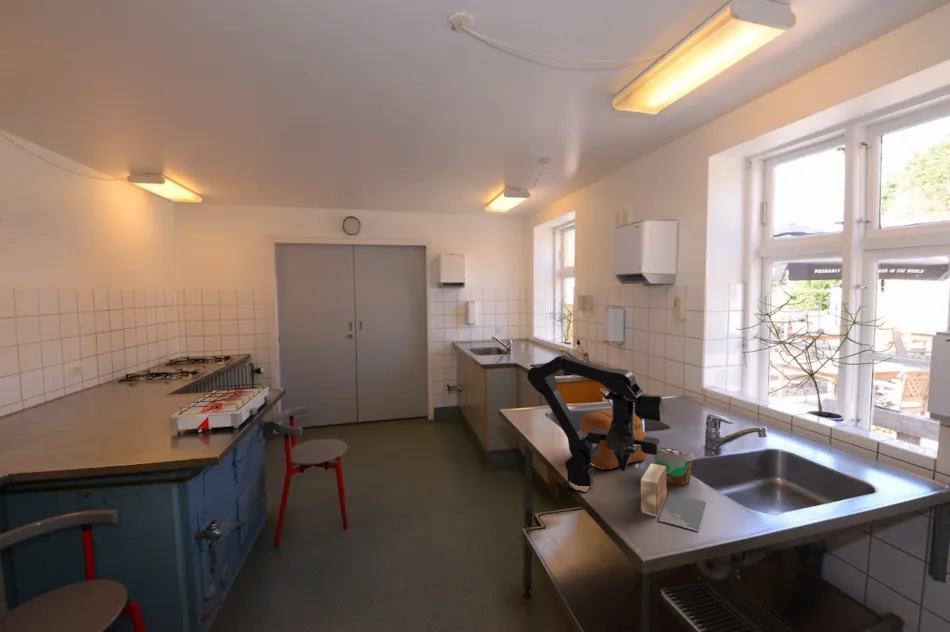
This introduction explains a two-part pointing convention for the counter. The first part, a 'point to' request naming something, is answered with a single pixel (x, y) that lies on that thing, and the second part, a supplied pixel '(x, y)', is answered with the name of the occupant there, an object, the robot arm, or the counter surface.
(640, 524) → the counter surface
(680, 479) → the food container
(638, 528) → the counter surface
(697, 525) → the rubber mat
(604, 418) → the bread
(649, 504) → the beige flat block
